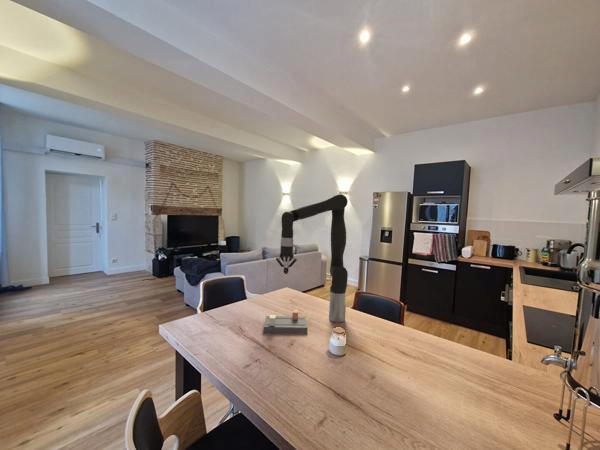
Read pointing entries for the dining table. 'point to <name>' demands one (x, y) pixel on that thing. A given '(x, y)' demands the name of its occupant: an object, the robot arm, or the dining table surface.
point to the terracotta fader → (295, 315)
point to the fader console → (286, 325)
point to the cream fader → (272, 320)
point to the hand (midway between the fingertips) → (285, 273)
